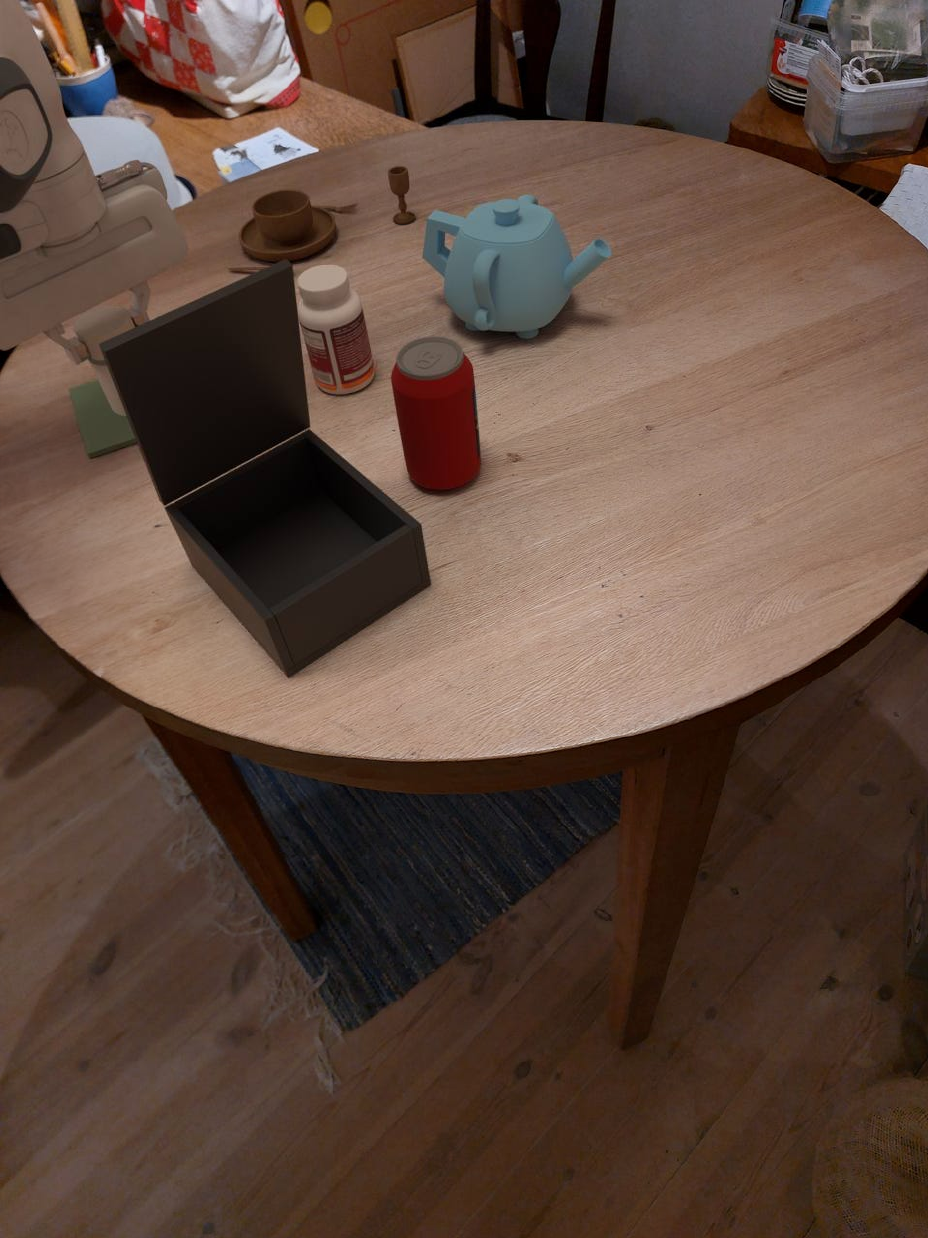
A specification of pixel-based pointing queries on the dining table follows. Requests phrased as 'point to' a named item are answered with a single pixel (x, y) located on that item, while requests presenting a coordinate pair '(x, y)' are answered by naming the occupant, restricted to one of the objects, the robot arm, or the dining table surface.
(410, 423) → the beverage can
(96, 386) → the mat
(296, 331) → the dark hinged box lid
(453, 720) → the dining table surface
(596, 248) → the teapot
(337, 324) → the pill bottle
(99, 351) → the container
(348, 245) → the dining table surface
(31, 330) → the robot arm
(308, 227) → the place setting
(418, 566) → the black keepsake box
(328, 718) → the dining table surface
